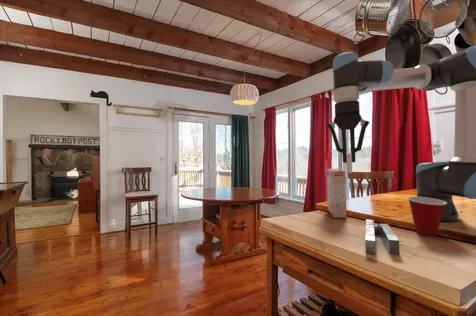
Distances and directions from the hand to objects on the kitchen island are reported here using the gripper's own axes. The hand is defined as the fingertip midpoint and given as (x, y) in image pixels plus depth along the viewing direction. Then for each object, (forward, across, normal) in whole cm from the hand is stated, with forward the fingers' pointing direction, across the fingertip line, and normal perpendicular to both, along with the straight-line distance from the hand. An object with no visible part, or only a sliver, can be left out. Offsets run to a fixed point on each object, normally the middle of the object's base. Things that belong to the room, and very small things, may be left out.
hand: (349, 172), depth 82 cm
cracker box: (+23, +4, -31) cm, 39 cm away
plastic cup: (+23, -24, -12) cm, 36 cm away
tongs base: (+23, -9, 0) cm, 24 cm away
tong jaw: (+22, -5, +1) cm, 23 cm away
